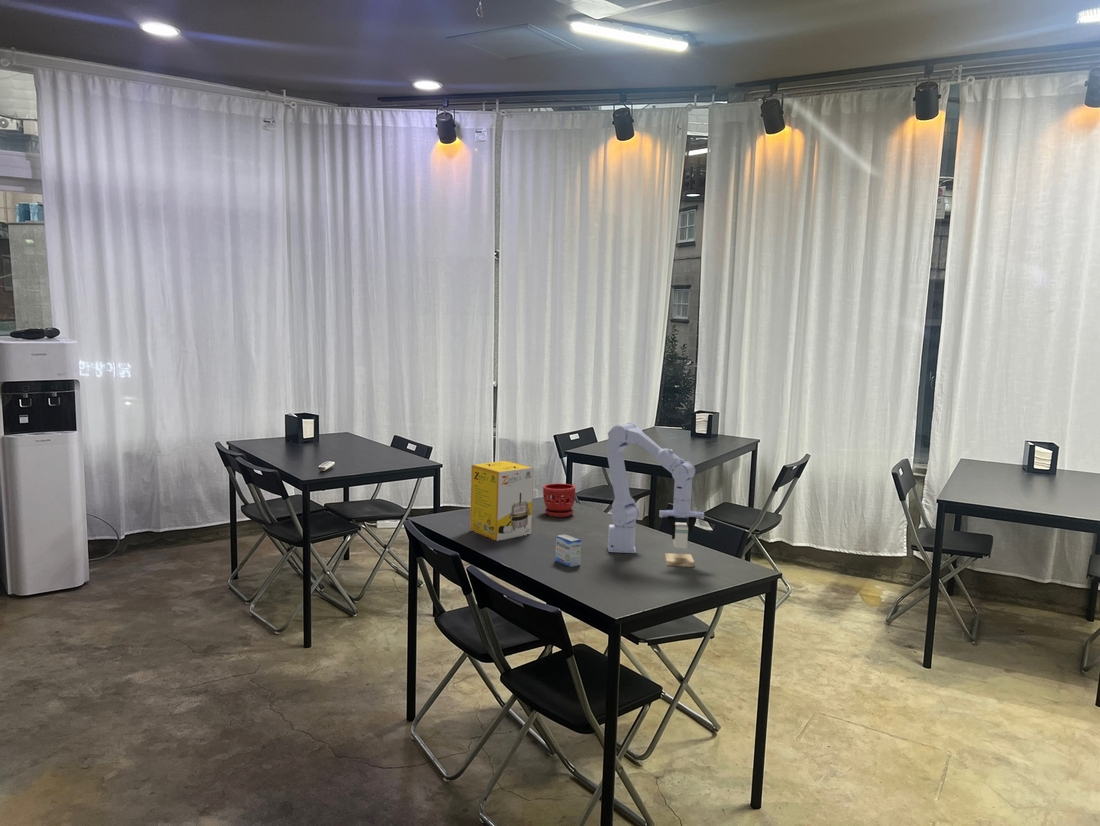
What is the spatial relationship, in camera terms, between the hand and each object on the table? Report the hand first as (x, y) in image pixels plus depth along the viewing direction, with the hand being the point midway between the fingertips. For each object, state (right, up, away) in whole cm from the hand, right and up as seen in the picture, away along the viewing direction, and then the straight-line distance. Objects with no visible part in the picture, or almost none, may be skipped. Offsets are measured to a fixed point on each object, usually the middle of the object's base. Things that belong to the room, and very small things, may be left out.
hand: (680, 538), depth 264 cm
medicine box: (-38, -8, -4) cm, 39 cm away
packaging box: (-62, -3, +30) cm, 69 cm away
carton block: (0, -2, 0) cm, 2 cm away
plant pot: (-40, 0, +60) cm, 72 cm away
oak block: (0, -8, +1) cm, 8 cm away
